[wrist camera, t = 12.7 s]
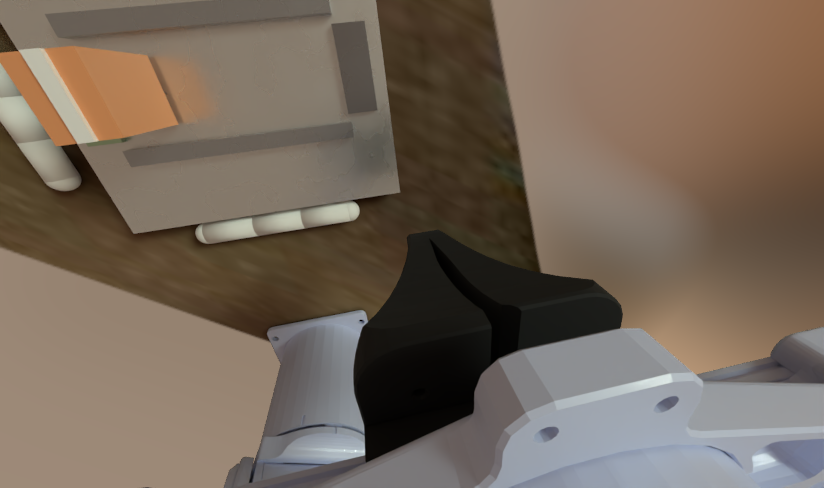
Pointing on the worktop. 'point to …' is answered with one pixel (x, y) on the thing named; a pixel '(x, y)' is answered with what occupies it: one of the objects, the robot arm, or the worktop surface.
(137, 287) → the worktop surface
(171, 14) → the breaker panel
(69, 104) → the lever
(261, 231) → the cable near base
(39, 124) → the rod
